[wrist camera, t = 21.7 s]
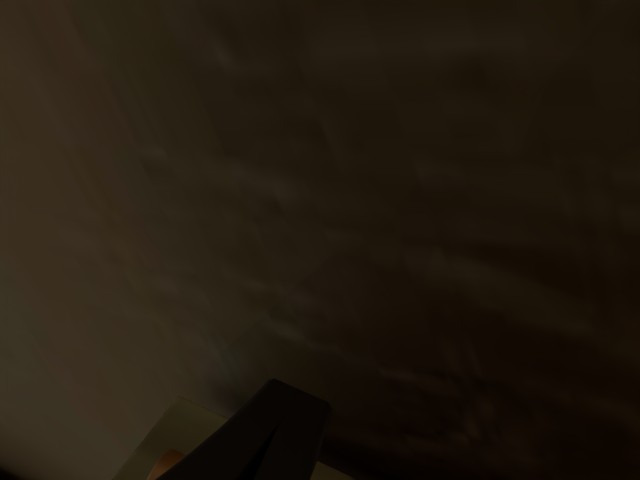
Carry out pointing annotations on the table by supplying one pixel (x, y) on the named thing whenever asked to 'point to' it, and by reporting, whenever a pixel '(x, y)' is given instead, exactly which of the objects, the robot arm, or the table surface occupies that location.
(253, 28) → the table surface
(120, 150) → the table surface
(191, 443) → the drawer
